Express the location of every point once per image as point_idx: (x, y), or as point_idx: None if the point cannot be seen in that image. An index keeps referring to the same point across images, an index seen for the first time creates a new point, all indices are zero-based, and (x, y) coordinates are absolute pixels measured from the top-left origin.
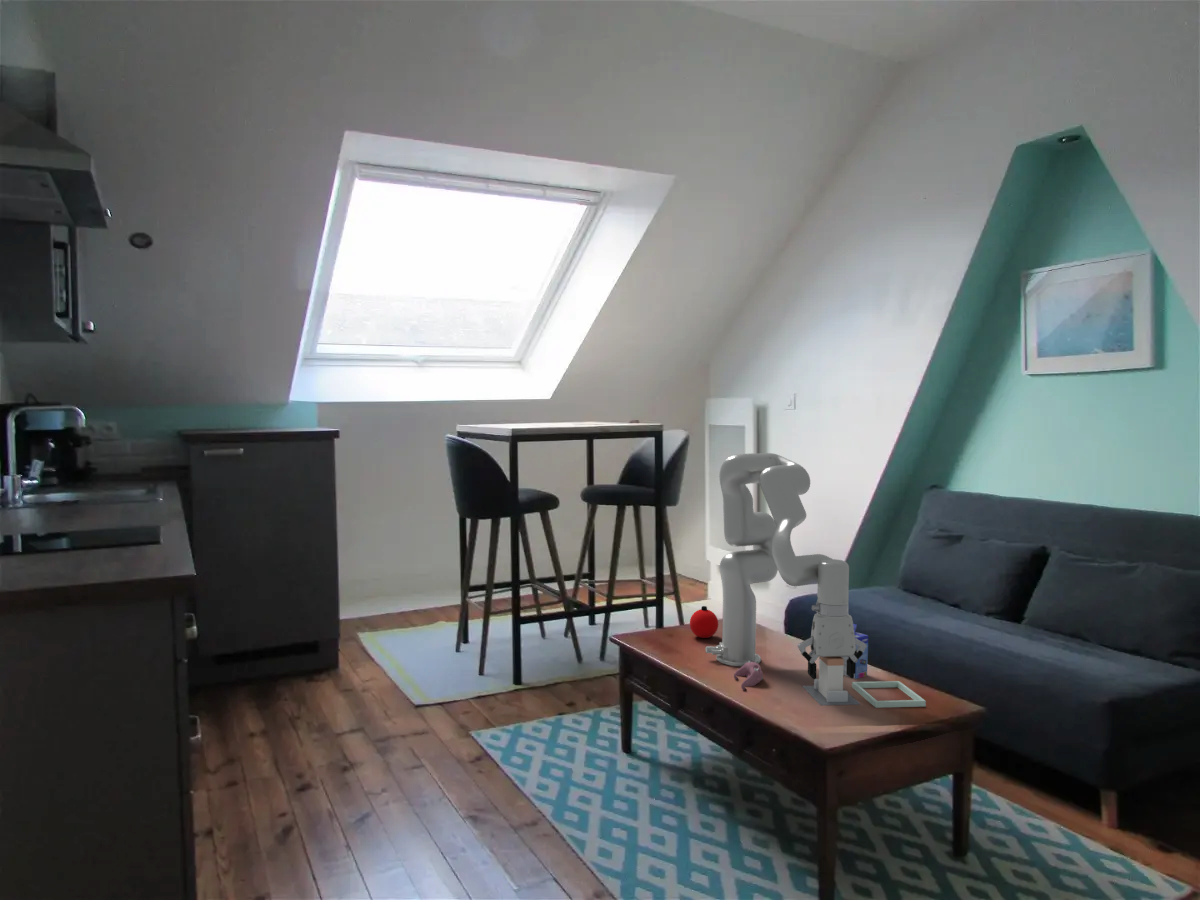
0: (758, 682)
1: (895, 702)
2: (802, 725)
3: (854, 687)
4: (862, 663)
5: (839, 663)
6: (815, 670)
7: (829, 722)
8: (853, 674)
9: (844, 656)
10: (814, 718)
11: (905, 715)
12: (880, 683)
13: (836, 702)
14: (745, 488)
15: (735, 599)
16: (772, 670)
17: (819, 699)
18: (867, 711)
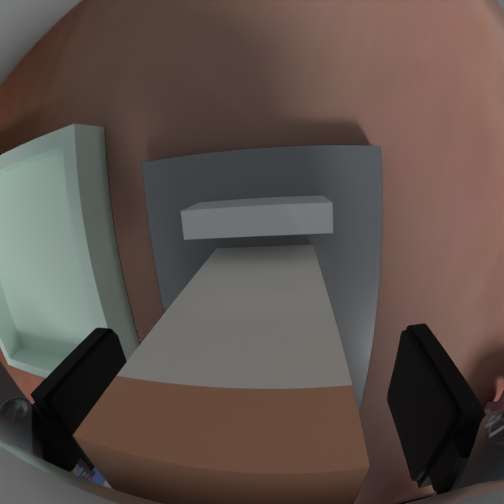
0: (500, 399)
1: (14, 148)
2: (468, 9)
3: None
4: (89, 471)
5: (157, 402)
6: (440, 365)
7: (363, 2)
8: (87, 340)
9: (52, 465)
10: (422, 52)
11: (27, 118)
12: (46, 368)
13: (272, 185)
14: None
15: None
16: (356, 500)
17: (358, 239)
18: (132, 135)
